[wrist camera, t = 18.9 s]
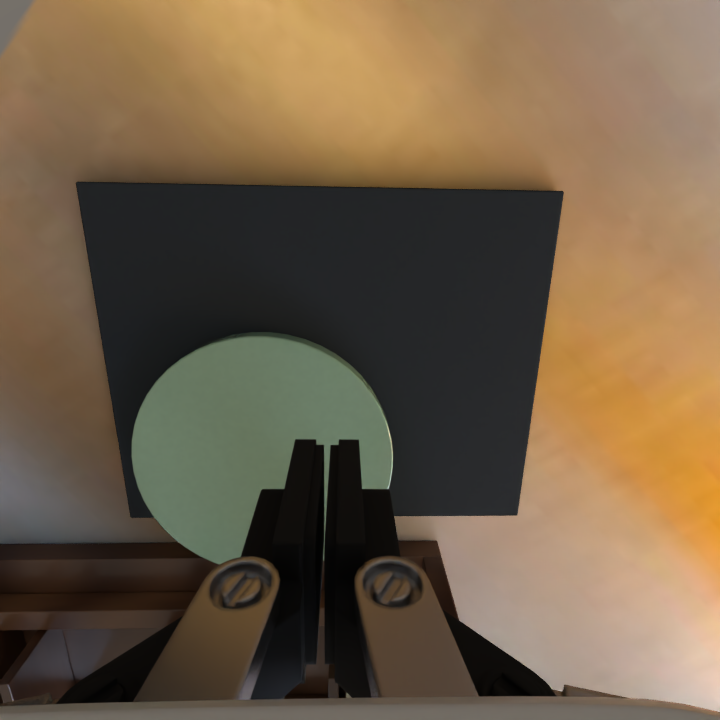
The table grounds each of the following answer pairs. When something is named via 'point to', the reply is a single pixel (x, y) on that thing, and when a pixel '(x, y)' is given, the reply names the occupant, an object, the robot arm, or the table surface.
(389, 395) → the mat
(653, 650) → the table surface
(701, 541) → the table surface
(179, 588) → the plate rack
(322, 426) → the green plate
